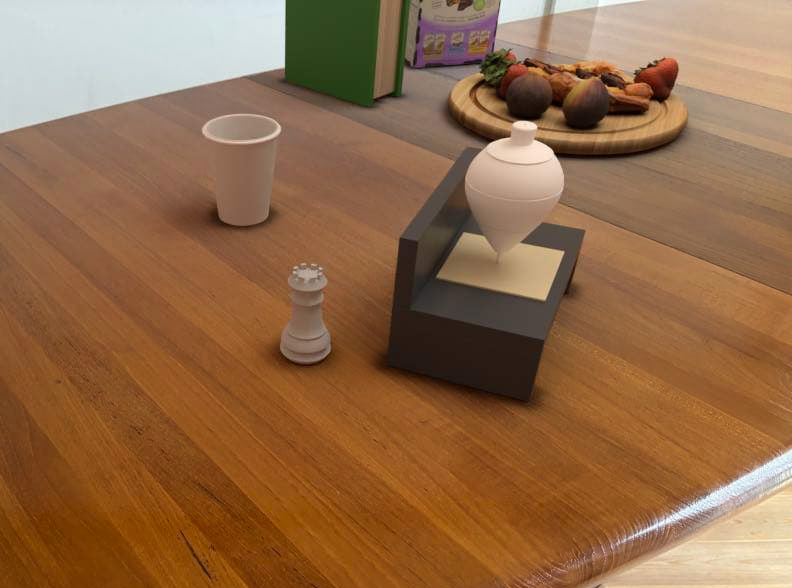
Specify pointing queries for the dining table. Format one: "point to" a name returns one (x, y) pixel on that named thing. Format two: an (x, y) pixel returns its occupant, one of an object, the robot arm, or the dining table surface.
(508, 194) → the spinning top
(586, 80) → the wooden plate
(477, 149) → the dark l-shaped stand
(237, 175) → the dixie cup
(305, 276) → the rook chess piece
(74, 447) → the dining table surface
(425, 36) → the candy box
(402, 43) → the hardback book
